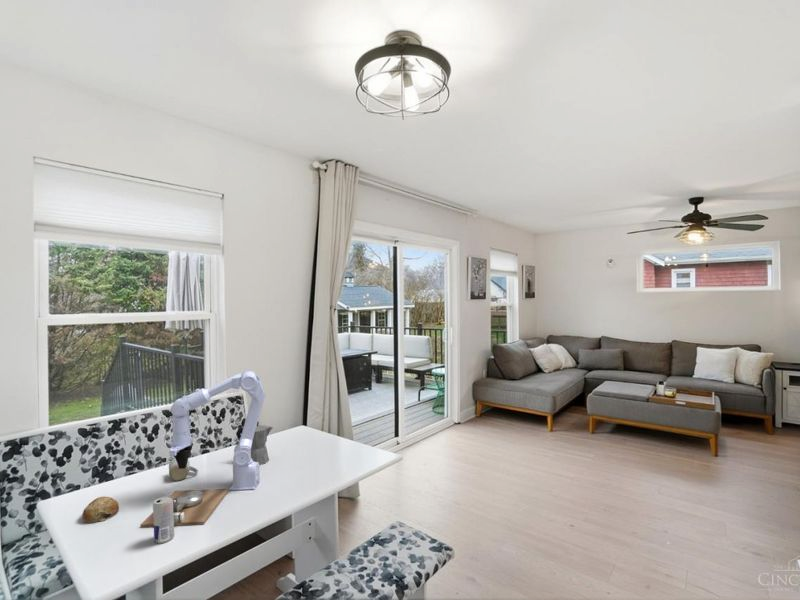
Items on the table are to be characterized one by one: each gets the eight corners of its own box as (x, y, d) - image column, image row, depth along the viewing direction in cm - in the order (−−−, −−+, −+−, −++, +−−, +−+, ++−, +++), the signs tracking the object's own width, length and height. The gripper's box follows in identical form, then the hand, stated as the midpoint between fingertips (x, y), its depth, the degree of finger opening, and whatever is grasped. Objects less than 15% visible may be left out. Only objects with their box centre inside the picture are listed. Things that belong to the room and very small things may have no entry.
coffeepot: (274, 456, 192) (273, 417, 191) (272, 464, 182) (271, 423, 182) (238, 459, 188) (237, 420, 188) (235, 468, 179) (234, 426, 179)
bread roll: (88, 536, 137) (92, 517, 135) (75, 515, 141) (79, 497, 140) (121, 521, 145) (125, 503, 143) (108, 502, 150) (112, 485, 148)
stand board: (229, 490, 158) (228, 481, 158) (203, 524, 135) (203, 514, 135) (175, 493, 157) (174, 484, 157) (140, 527, 134) (140, 517, 134)
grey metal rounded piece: (187, 495, 152) (186, 482, 152) (207, 497, 151) (207, 483, 151) (159, 516, 138) (158, 502, 138) (181, 518, 137) (180, 503, 137)
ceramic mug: (169, 483, 166) (168, 464, 166) (168, 476, 173) (168, 457, 173) (198, 477, 171) (198, 459, 171) (197, 470, 178) (197, 452, 178)
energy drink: (159, 534, 130) (158, 496, 130) (177, 533, 131) (176, 495, 131) (150, 544, 125) (149, 505, 125) (169, 543, 125) (168, 503, 125)
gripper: (179, 425, 162) (180, 460, 162) (160, 438, 148) (161, 476, 148) (198, 425, 162) (199, 459, 163) (180, 438, 148) (181, 475, 148)
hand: (182, 467), depth 155 cm, fingers closed
